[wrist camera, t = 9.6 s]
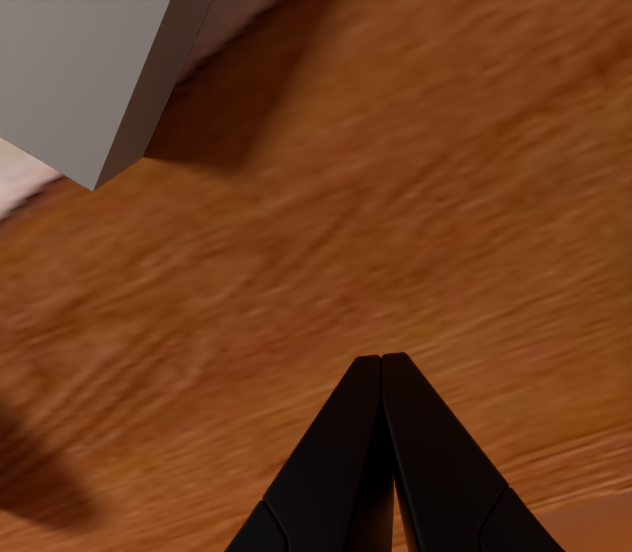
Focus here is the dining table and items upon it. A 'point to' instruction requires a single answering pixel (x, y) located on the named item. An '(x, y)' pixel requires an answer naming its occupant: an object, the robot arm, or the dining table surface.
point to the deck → (90, 78)
